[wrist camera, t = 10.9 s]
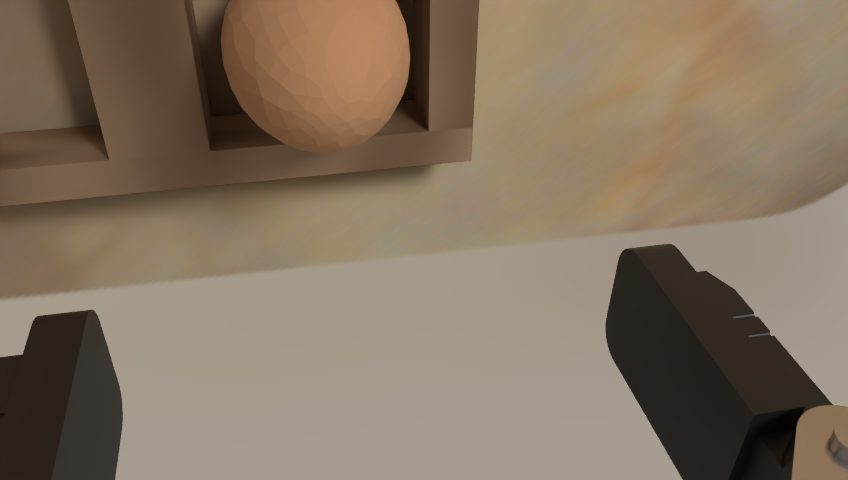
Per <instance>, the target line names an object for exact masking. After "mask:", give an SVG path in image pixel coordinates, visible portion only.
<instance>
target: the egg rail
mask: <svg viewBox="0 0 848 480" xmlns="http://www.w3.org/2000/svg"><path fill="white" fill-rule="evenodd" d="M68 3H69V7H70V11H71V15H72V19H73V22H74V26H75V30H76V34H77V38H78V42H79V45H80V49H81V53H82V57H83V61H84V65H85V68H86V72H87V76H88V80H89V84H90V88H91V91H92V95H93V99H94V103H95V107H96V111H97V114H98V118H99V122H100V126H88V127H76V128H64V129H52V130H39V131H27V132H15V133H3V134H0V206H10V205H20V204H31V203H41V202H51V201H61V200H72V199H82V198H92V197H103V196H113V195H123V194H133V193H144V192H154V191H164V190H175V189H185V188H195V187H205V186H216V185H226V184H236V183H246V182H257V181H267V180H277V179H288V178H298V177H308V176H318V175H329V174H339V173H349V172H360V171H370V170H380V169H390V168H401V167H411V166H421V165H432V164H442V163H452V162H462V161H471V155H472V135H473V114H474V94H475V73H476V53H477V33H478V12H479V0H414V100H405V101H400V102H399V103H398V105H397V107H396V109H395V111H394V112H393V114H392V116H391V118H390V120H389V121H388V122H387V123H386V124H385V125H384V126H383V127H382V128H381V130H380V131H378V132H377V133H376V134H375V135H373V136H372V137H371V138H370V139H368V140H367V141H365V142H363V143H361V144H360V145H357V146H355V147H352V148H350V149H347V150H343V151H338V152H329V153H314V152H308V151H302V150H299V149H297V148H294V147H291V146H289V145H286V144H284V143H282V142H281V141H279V140H278V139H276V138H275V137H273V136H271V135H270V134H268V133H267V132H266V131H264V130H263V129H261V128H260V127H259V126H258V125H257V124H256V123H255V122H254V121H253V120H252V119H251V117H250V116H249V115H248V114H247V113H246V114H234V115H222V116H211V111H210V105H209V99H208V93H207V87H206V81H205V75H204V69H203V63H202V57H201V51H200V45H199V39H198V33H197V27H196V21H195V16H194V10H193V4H192V0H68Z"/></svg>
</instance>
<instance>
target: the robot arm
mask: <svg viewBox="0 0 848 480" xmlns="http://www.w3.org/2000/svg"><path fill="white" fill-rule="evenodd" d="M606 338H607V343H608V347H609V351H610V353H611V356H612V358H613V360H614V362H615V363H616V365H617V367H618V369H619V370H620V372H621V374H622V375H623V377H624V379H625V381H626V382H627V384H628V386H629V388H630V389H631V391H632V393H633V394H634V396H635V398H636V400H637V401H638V403H639V405H640V406H641V408H642V410H643V412H644V413H645V415H646V416H647V419H648V420H649V422H650V424H651V425H652V427H653V429H654V431H655V432H656V434H657V436H658V438H659V439H660V441H661V443H662V445H663V446H664V448H665V450H666V451H667V453H668V455H669V456H670V458H671V460H672V462H673V463H674V465H675V467H676V469H677V470H678V472H679V474H680V476H681V477H682V479H683V480H848V407H845V406H837V405H832V403H831V402H830V401H829V400H828V399H827V398H826V396H825V395H824V394H823V393H822V392H821V390H820V389H819V388H818V387H817V386H816V385H815V383H814V382H813V381H812V380H811V379H810V378H809V376H808V375H807V374H806V373H805V372H804V371H803V369H802V368H801V367H800V366H799V365H798V363H797V362H796V361H795V360H794V359H793V358H792V356H791V355H790V354H789V353H788V352H787V350H786V349H785V348H784V347H783V346H782V345H781V343H780V342H779V341H778V340H777V339H776V338H775V336H771V335H770V330H769V329H768V328H767V327H766V326H765V325H764V323H763V322H762V321H761V320H760V319H759V318H758V317H755V316H754V312H753V310H752V309H751V308H750V307H749V306H748V305H747V304H746V302H745V301H744V300H743V299H742V297H741V296H740V295H739V294H738V293H737V292H736V290H735V289H733V288H732V287H730V286H728V285H727V284H725V283H724V282H722V281H721V280H719V279H718V278H716V277H715V276H713V275H712V274H710V273H708V272H707V271H701V272H696V271H695V269H694V268H693V267H692V266H691V264H690V263H689V262H688V261H687V260H686V258H685V257H684V256H683V255H682V253H681V252H680V251H679V250H678V249H677V248H676V247H675V246H674V245H672V244H663V245H655V246H646V247H637V248H629V249H625V250H624V251H623V252H622V253H621V255H620V257H619V260H618V265H617V270H616V275H615V279H614V284H613V289H612V294H611V299H610V304H609V309H608V313H607V319H606ZM122 415H123V412H122V399H121V392H120V387H119V383H118V380H117V377H116V373H115V370H114V367H113V363H112V360H111V357H110V354H109V350H108V347H107V344H106V341H105V337H104V334H103V331H102V327H101V324H100V321H99V318H98V316H97V314H96V312H95V311H93V310H86V311H78V312H69V313H61V314H52V315H43V316H37V317H36V318H35V319H34V321H33V323H32V326H31V329H30V333H29V336H28V339H27V342H26V346H25V349H24V352H23V355H16V356H8V357H0V480H115V474H116V468H117V461H118V453H119V446H120V439H121V431H122V420H123V417H122Z"/></svg>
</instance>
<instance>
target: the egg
mask: <svg viewBox="0 0 848 480" xmlns="http://www.w3.org/2000/svg"><path fill="white" fill-rule="evenodd" d="M221 47H222V56H223V65H224V68H225V71H226V74H227V77H228V80H229V83H230V86H231V89H232V91H233V92H234V94H235V96H236V98H237V100H238V102H239V104H240V106H241V107H242V109H243V110H244V111H245V112H246V113H247V114H248V115H249V116H250V117H251V119H252V120H253V121H254V122H255V123H256V124H257V125H258V126H259V127H260V128H261V129H263V130H264V131H266V132H267V133H268V134H270V135H271V136H273V137H275V138H276V139H278V140H279V141H281V142H282V143H284V144H286V145H289V146H291V147H294V148H297V149H299V150H302V151H308V152H314V153H329V152H338V151H343V150H347V149H350V148H352V147H355V146H357V145H360V144H361V143H363V142H365V141H367V140H368V139H370V138H371V137H372V136H373V135H375V134H376V133H377V132H378V131H380V130H381V128H382V127H383V126H384V125H385V124H386V123H387V122H388V121H389V120H390V118H391V116H392V114H393V112H394V111H395V109H396V107H397V105H398V103H399V102H400V100H401V98H402V96H403V93H404V90H405V87H406V84H407V81H408V75H409V66H410V50H409V40H408V35H407V29H406V24H405V21H404V19H403V16H402V14H401V11H400V9H399V6H398V4H397V2H396V1H395V0H229V3H228V5H227V7H226V10H225V14H224V19H223V24H222V35H221Z"/></svg>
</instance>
